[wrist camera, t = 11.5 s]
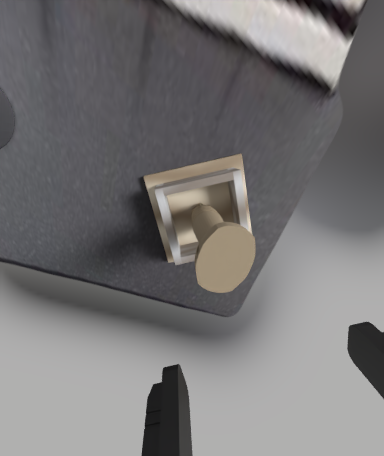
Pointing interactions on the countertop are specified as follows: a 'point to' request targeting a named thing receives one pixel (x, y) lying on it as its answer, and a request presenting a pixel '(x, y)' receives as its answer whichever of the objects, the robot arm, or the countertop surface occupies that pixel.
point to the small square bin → (196, 201)
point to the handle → (220, 250)
